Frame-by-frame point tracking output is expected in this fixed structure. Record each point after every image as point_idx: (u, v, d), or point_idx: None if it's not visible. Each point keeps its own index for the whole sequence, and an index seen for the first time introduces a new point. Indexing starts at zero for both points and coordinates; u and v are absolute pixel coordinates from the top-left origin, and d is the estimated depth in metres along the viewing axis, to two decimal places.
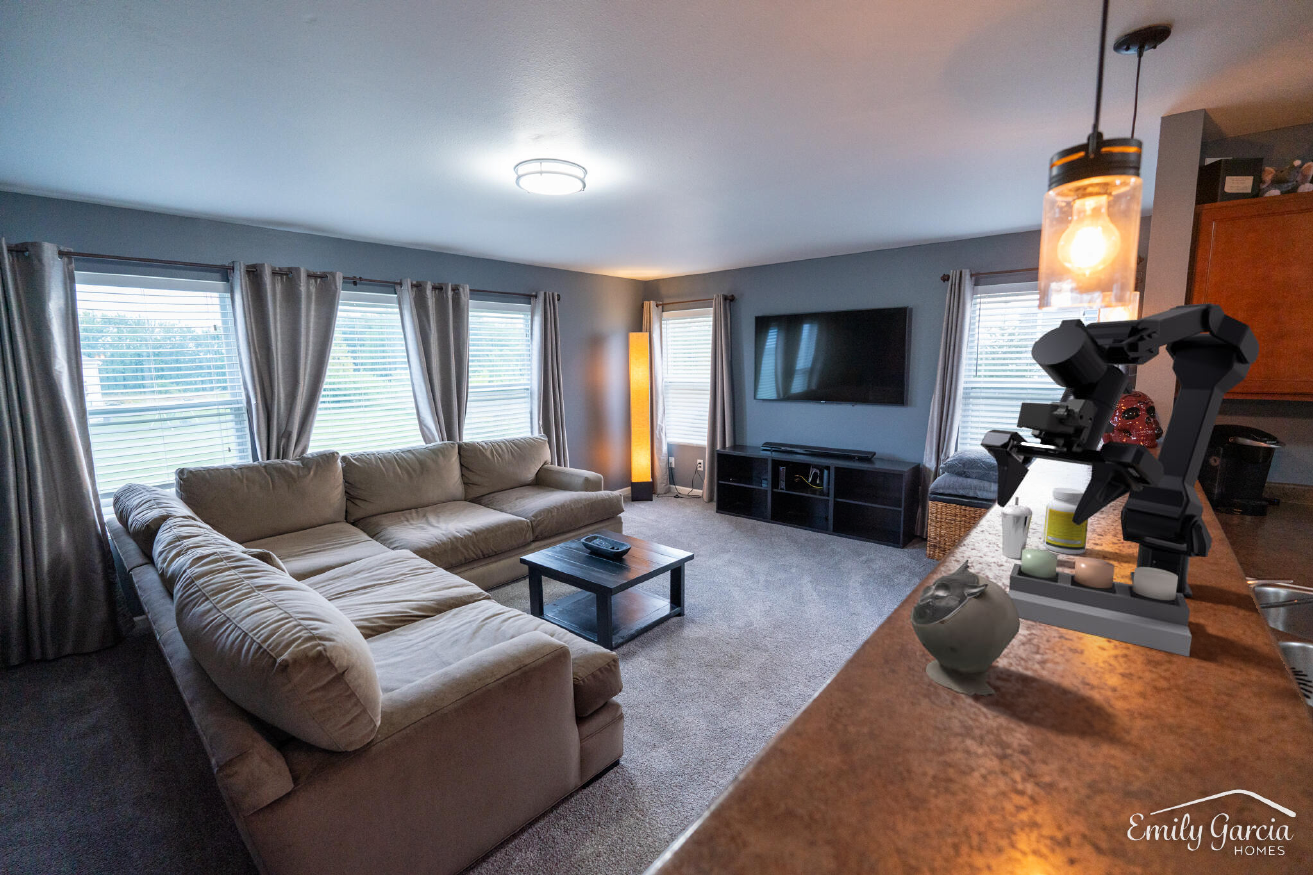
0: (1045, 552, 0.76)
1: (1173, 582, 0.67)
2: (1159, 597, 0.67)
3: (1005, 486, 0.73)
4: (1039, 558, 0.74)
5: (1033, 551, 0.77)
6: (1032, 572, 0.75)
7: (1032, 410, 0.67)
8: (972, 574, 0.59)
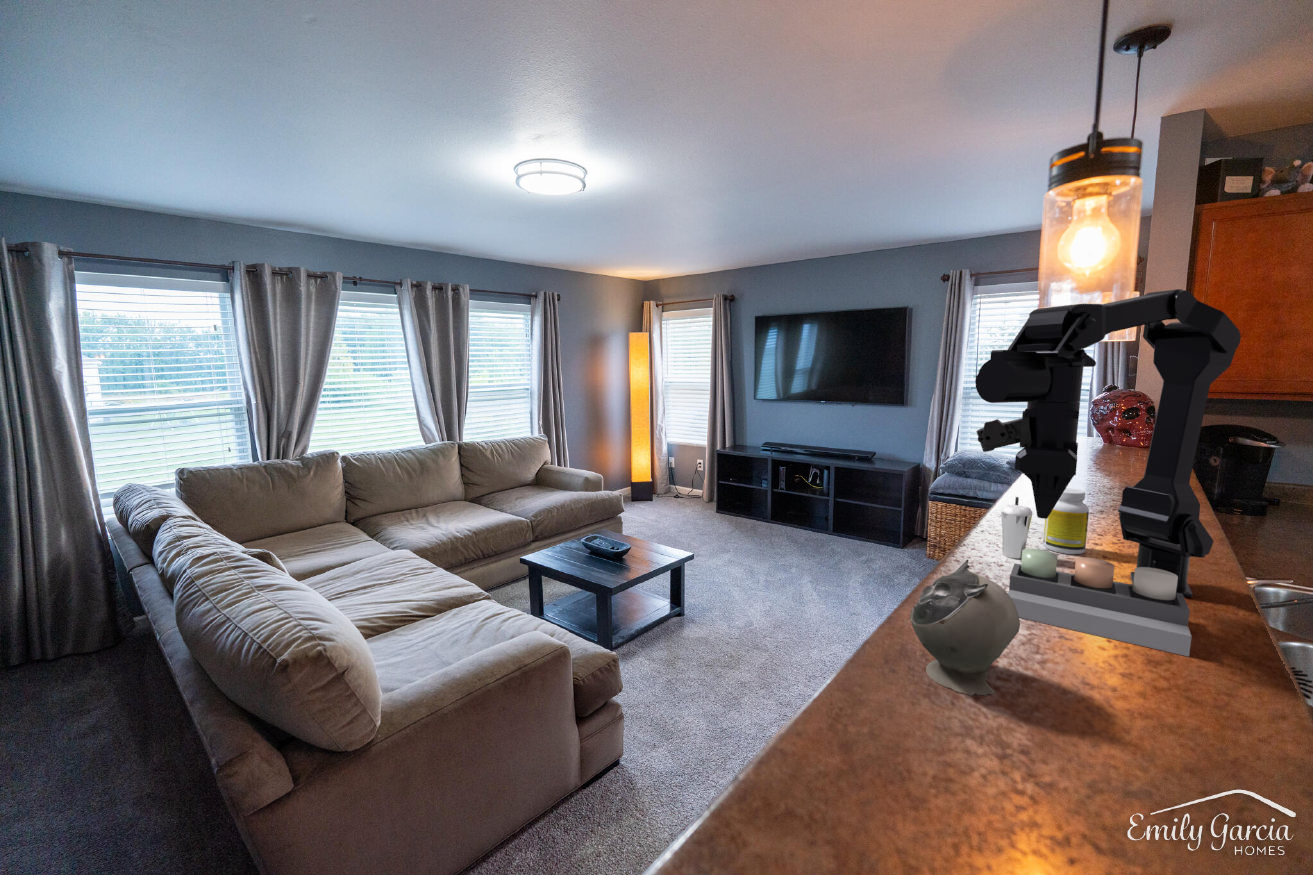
0: (1045, 552, 0.76)
1: (1173, 582, 0.67)
2: (1159, 597, 0.67)
3: None
4: (1039, 558, 0.74)
5: (1033, 551, 0.77)
6: (1032, 572, 0.75)
7: None
8: (972, 574, 0.59)
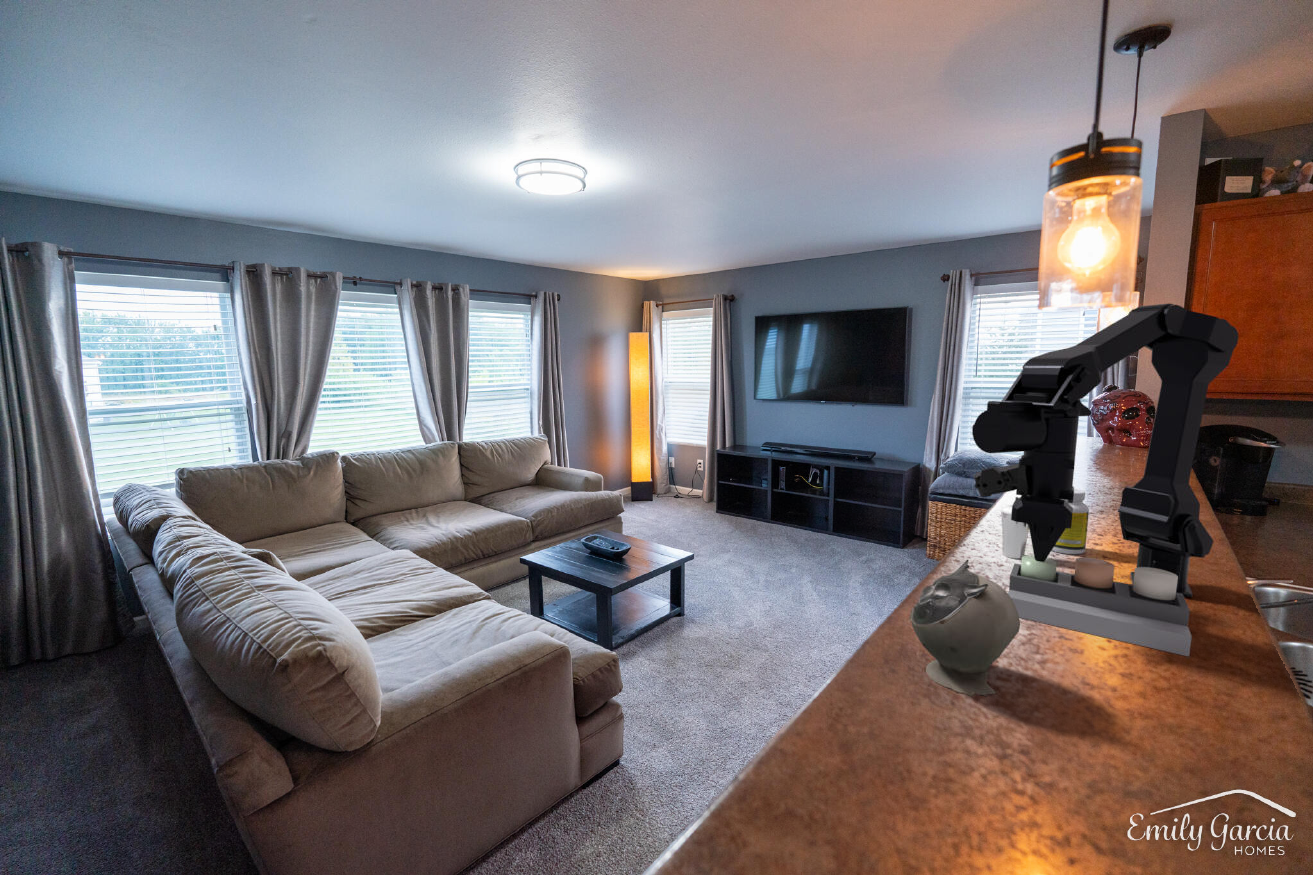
0: None
1: (1173, 582, 0.67)
2: (1159, 597, 0.67)
3: None
4: (1039, 566, 0.74)
5: (1032, 558, 0.77)
6: None
7: None
8: (973, 574, 0.59)
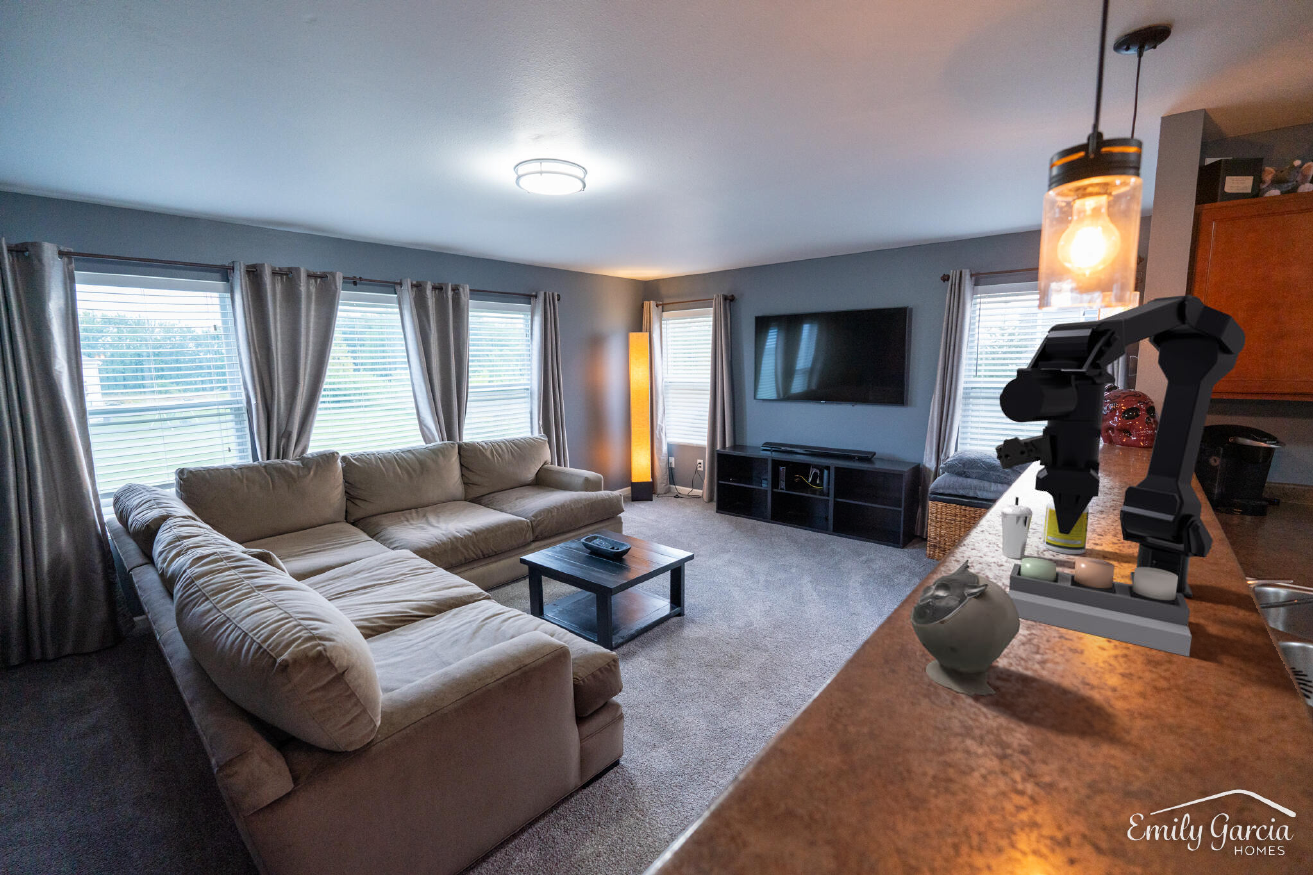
0: (1044, 561, 0.76)
1: (1173, 582, 0.67)
2: (1159, 597, 0.67)
3: None
4: (1038, 568, 0.74)
5: (1032, 560, 0.77)
6: None
7: None
8: (973, 574, 0.59)
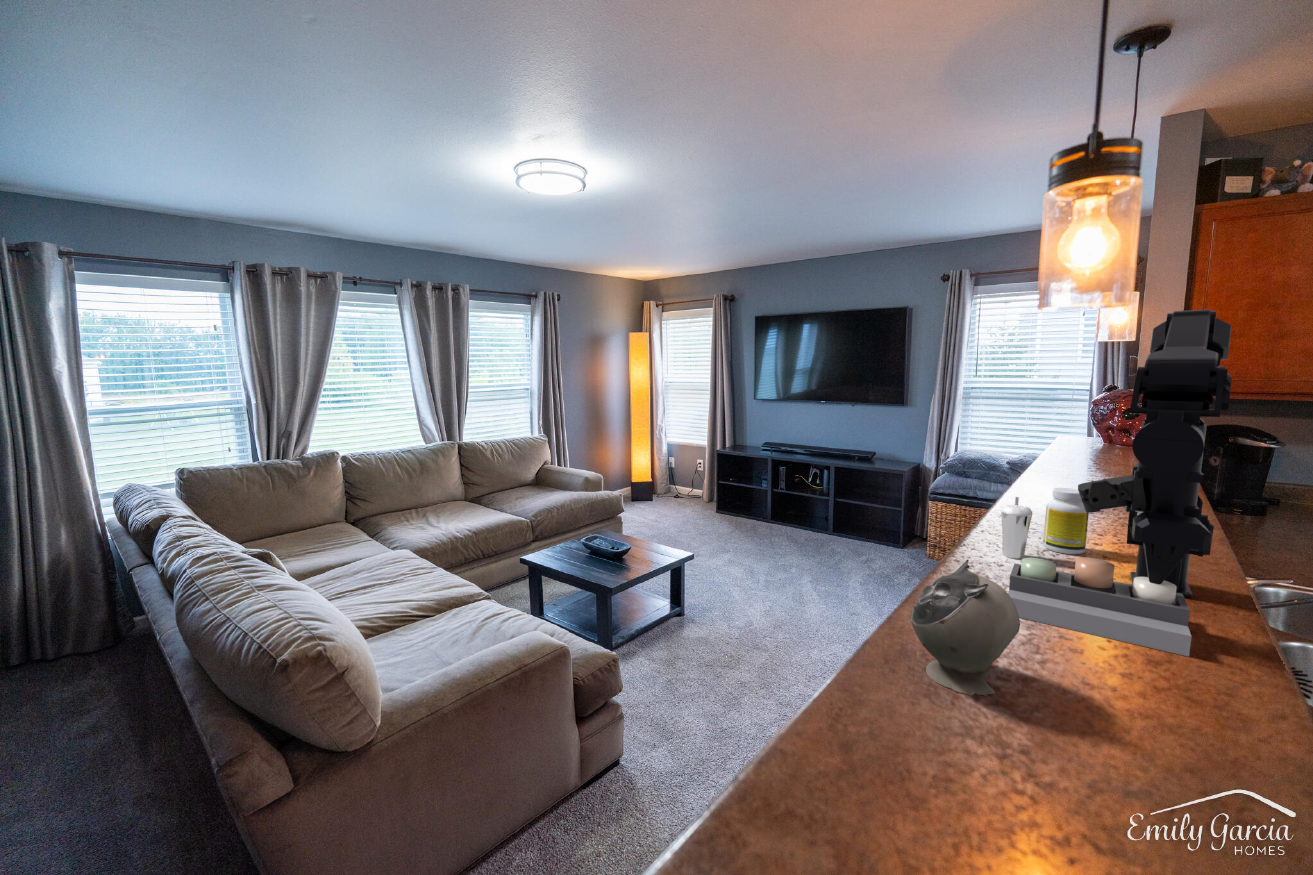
0: (1044, 561, 0.76)
1: (1172, 592, 0.67)
2: None
3: None
4: (1038, 568, 0.74)
5: (1032, 560, 0.77)
6: None
7: None
8: (973, 574, 0.59)
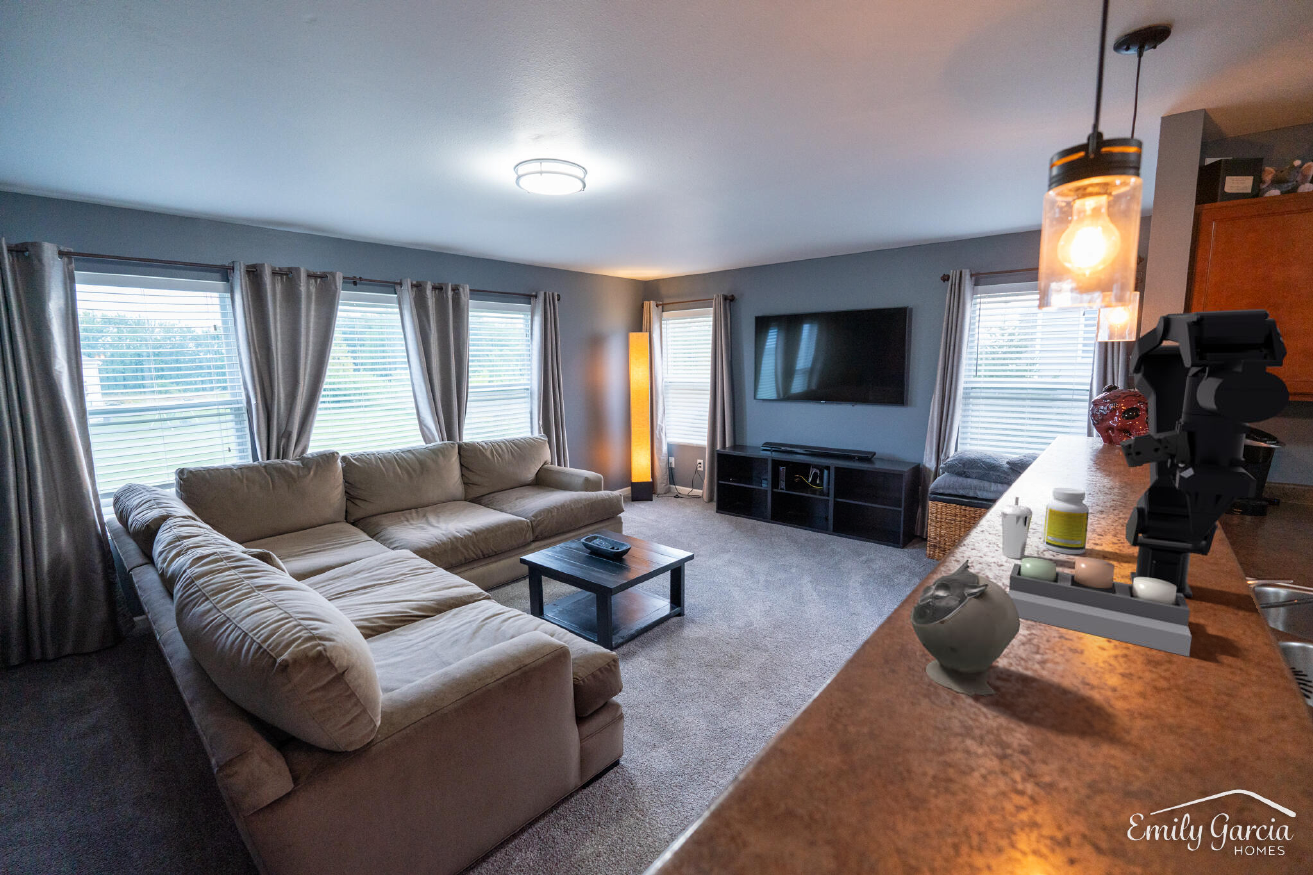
0: (1044, 561, 0.76)
1: (1172, 592, 0.67)
2: None
3: None
4: (1038, 568, 0.74)
5: (1032, 560, 0.77)
6: None
7: None
8: (973, 574, 0.59)
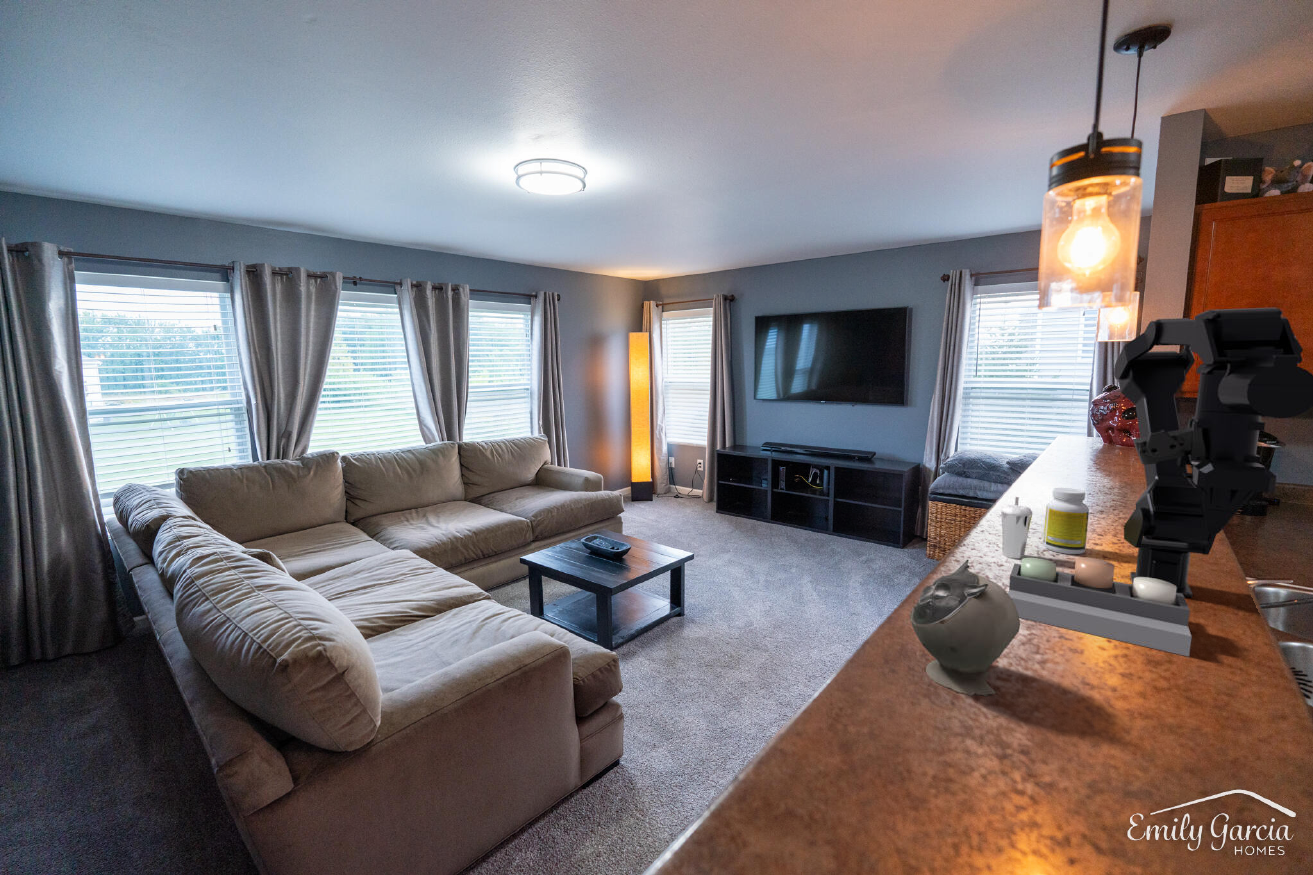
0: (1044, 561, 0.76)
1: (1172, 592, 0.67)
2: None
3: None
4: (1038, 568, 0.74)
5: (1032, 560, 0.77)
6: None
7: None
8: (972, 574, 0.59)
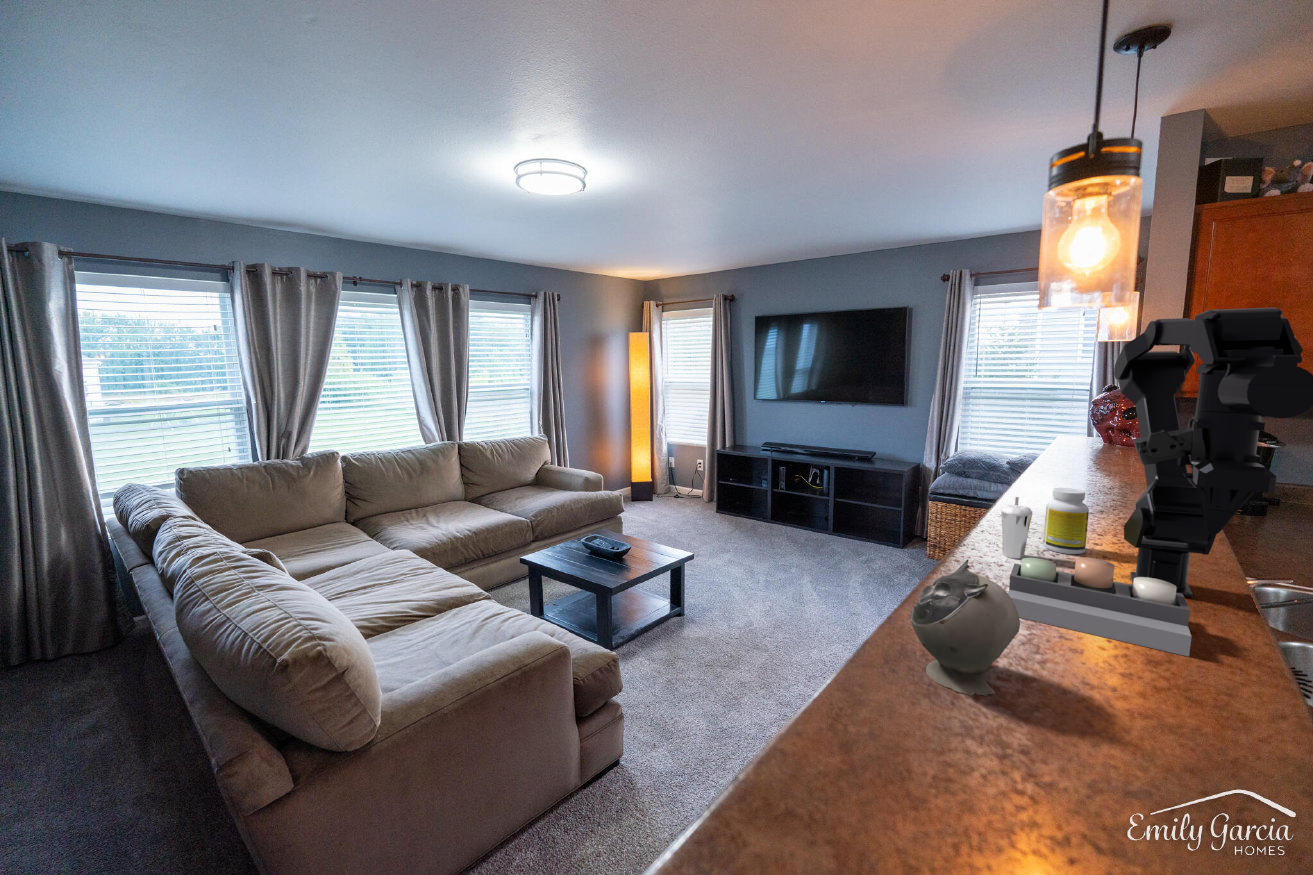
0: (1044, 561, 0.76)
1: (1172, 592, 0.67)
2: None
3: None
4: (1038, 568, 0.74)
5: (1032, 560, 0.77)
6: None
7: None
8: (972, 574, 0.59)
